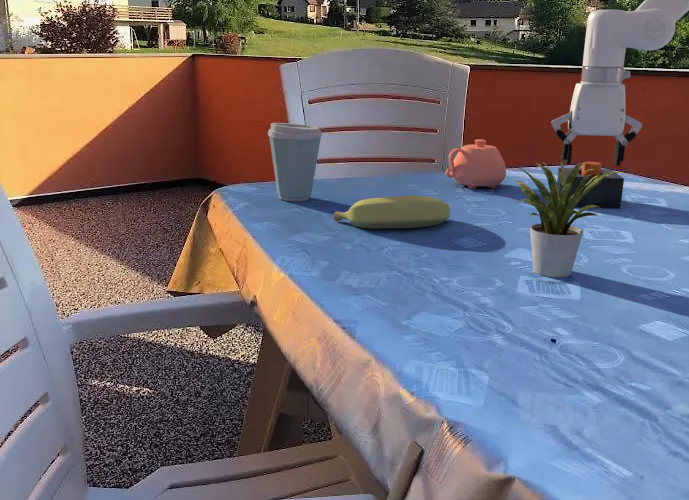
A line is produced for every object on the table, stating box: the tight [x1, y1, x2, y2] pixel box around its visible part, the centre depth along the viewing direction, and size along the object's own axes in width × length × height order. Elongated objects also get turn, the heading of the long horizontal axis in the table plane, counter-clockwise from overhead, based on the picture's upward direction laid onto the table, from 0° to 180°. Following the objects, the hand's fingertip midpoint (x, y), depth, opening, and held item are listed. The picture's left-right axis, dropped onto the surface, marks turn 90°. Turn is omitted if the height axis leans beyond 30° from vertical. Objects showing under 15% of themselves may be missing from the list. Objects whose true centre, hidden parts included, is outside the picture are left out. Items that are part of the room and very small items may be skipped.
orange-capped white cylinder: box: [581, 161, 603, 175], centre depth 144 cm, size 4×4×8 cm
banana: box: [332, 195, 451, 230], centre depth 124 cm, size 14×6×20 cm
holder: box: [556, 166, 625, 210], centre depth 144 cm, size 11×11×6 cm
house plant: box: [514, 158, 622, 279], centre depth 98 cm, size 14×14×16 cm
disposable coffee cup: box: [267, 122, 323, 203], centre depth 141 cm, size 11×11×15 cm
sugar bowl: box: [445, 138, 507, 190], centre depth 158 cm, size 12×14×10 cm
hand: (591, 164), depth 143 cm, fingers open, 9 cm apart
